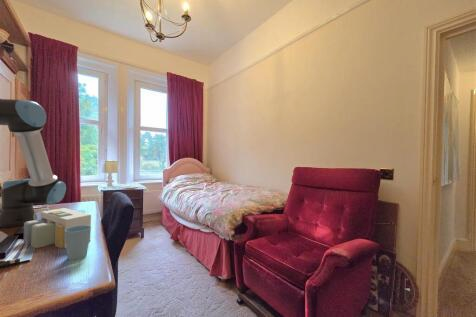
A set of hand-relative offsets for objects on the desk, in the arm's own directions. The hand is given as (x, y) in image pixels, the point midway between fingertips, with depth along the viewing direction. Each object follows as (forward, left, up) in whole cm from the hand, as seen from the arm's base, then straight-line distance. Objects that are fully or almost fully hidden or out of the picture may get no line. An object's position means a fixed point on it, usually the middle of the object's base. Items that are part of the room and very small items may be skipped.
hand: (3, 238), depth 78 cm
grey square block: (-15, +1, -6) cm, 16 cm away
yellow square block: (-10, +16, -6) cm, 20 cm away
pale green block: (-10, +7, -6) cm, 14 cm away
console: (-15, +10, -6) cm, 19 cm away
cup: (+2, +26, -7) cm, 27 cm away
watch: (-27, -6, -7) cm, 29 cm away
